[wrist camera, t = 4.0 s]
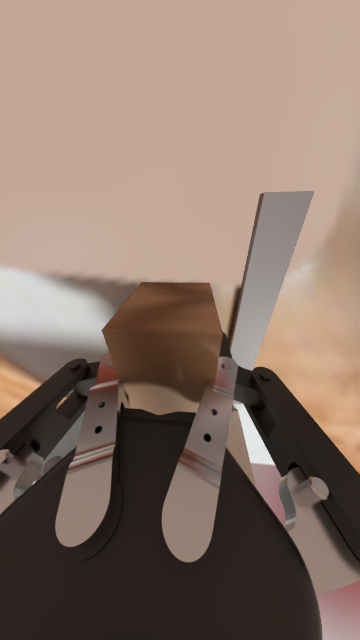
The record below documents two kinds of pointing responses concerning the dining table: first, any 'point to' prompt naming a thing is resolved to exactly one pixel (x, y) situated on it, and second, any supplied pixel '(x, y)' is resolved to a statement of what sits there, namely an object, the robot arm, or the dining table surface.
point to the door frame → (263, 289)
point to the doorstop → (166, 345)
